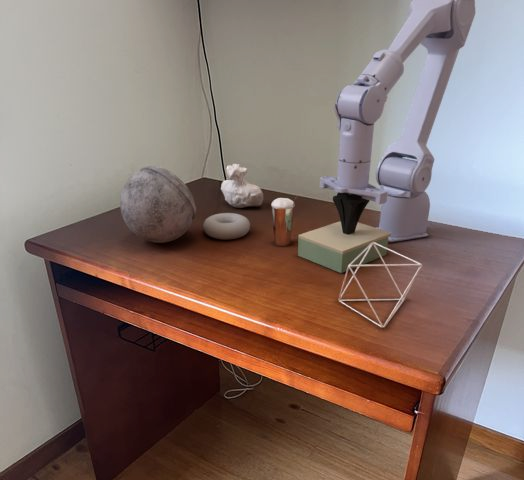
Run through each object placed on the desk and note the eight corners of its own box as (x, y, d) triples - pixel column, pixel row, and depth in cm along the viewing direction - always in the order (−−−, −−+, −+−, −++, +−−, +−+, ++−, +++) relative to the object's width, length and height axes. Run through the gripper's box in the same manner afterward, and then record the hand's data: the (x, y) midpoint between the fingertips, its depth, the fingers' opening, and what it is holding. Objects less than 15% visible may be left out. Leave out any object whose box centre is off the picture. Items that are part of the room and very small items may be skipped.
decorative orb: (211, 239, 114) (207, 165, 106) (156, 260, 105) (147, 180, 97) (165, 224, 122) (158, 154, 114) (111, 241, 113) (99, 167, 105)
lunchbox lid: (347, 221, 112) (347, 218, 112) (391, 235, 105) (391, 232, 105) (298, 237, 104) (298, 234, 104) (342, 254, 97) (342, 251, 97)
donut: (197, 240, 114) (244, 243, 112) (196, 224, 112) (243, 226, 110) (211, 225, 122) (254, 227, 120) (210, 209, 120) (254, 211, 118)
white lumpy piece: (221, 210, 137) (201, 180, 128) (235, 186, 139) (216, 155, 129) (260, 219, 131) (241, 189, 122) (274, 194, 133) (257, 162, 123)
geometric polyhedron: (382, 288, 94) (387, 237, 89) (428, 313, 86) (437, 259, 81) (323, 306, 88) (325, 252, 84) (367, 334, 80) (372, 277, 76)
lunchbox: (343, 239, 114) (344, 222, 112) (386, 254, 106) (388, 237, 104) (297, 255, 106) (298, 238, 104) (341, 273, 99) (342, 254, 97)
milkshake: (290, 249, 109) (291, 199, 104) (267, 244, 111) (267, 195, 106) (300, 242, 112) (302, 193, 107) (278, 237, 115) (279, 189, 109)
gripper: (309, 156, 100) (307, 227, 107) (372, 170, 91) (364, 248, 98) (335, 150, 104) (331, 220, 111) (398, 163, 95) (389, 238, 102)
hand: (348, 232), depth 105 cm, fingers closed, pressing on lunchbox lid
